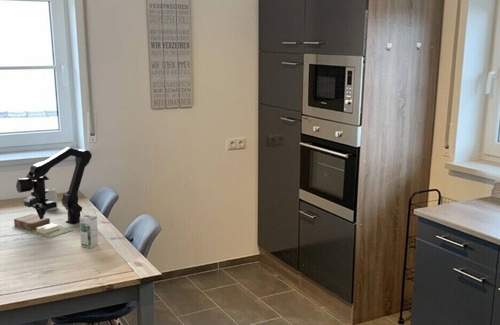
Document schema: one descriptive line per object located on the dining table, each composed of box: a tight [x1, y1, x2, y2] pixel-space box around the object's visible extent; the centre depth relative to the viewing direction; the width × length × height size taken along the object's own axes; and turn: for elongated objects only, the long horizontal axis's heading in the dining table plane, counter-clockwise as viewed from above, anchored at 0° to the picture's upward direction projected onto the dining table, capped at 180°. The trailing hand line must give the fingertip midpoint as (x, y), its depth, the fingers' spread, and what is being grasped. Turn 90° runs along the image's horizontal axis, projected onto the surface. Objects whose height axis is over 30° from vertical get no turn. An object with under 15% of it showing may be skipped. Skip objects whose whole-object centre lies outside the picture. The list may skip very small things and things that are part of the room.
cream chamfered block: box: [36, 222, 60, 234], centre depth 270 cm, size 6×9×2 cm, turn 147°
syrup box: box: [79, 214, 99, 249], centre depth 249 cm, size 6×6×14 cm
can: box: [45, 187, 59, 212], centre depth 307 cm, size 8×8×12 cm
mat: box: [28, 225, 74, 239], centre depth 270 cm, size 16×14×1 cm
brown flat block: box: [13, 213, 51, 232], centre depth 278 cm, size 14×11×4 cm
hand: (41, 219), depth 273 cm, fingers closed
